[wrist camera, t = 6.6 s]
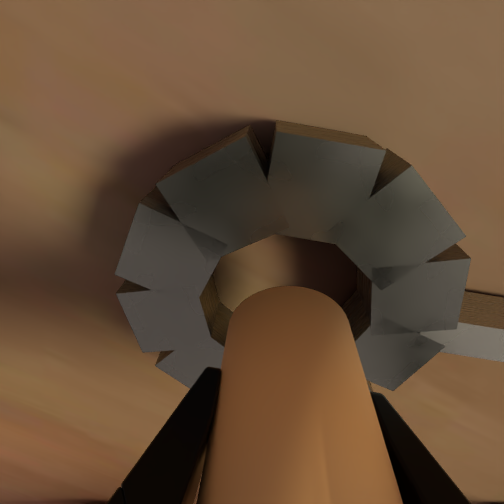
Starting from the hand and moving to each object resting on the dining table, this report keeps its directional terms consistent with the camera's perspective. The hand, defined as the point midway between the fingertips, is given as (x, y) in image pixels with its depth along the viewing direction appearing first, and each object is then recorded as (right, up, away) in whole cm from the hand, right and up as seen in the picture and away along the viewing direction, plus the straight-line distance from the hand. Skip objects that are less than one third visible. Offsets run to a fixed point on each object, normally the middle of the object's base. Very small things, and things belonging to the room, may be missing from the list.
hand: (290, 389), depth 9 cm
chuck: (+5, +2, +5) cm, 7 cm away
